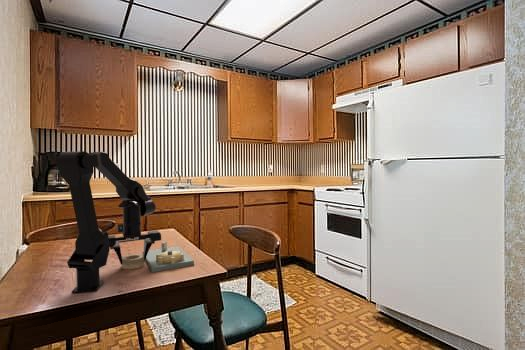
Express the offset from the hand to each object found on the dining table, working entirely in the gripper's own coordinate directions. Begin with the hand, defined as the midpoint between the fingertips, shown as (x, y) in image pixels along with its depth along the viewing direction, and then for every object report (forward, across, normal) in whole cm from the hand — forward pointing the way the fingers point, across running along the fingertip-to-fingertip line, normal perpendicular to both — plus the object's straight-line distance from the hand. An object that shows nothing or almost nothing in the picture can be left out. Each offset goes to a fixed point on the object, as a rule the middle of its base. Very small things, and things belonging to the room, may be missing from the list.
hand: (133, 262), depth 103 cm
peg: (0, -12, -5) cm, 13 cm away
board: (+1, -12, 0) cm, 12 cm away
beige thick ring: (+1, 0, 0) cm, 1 cm away
